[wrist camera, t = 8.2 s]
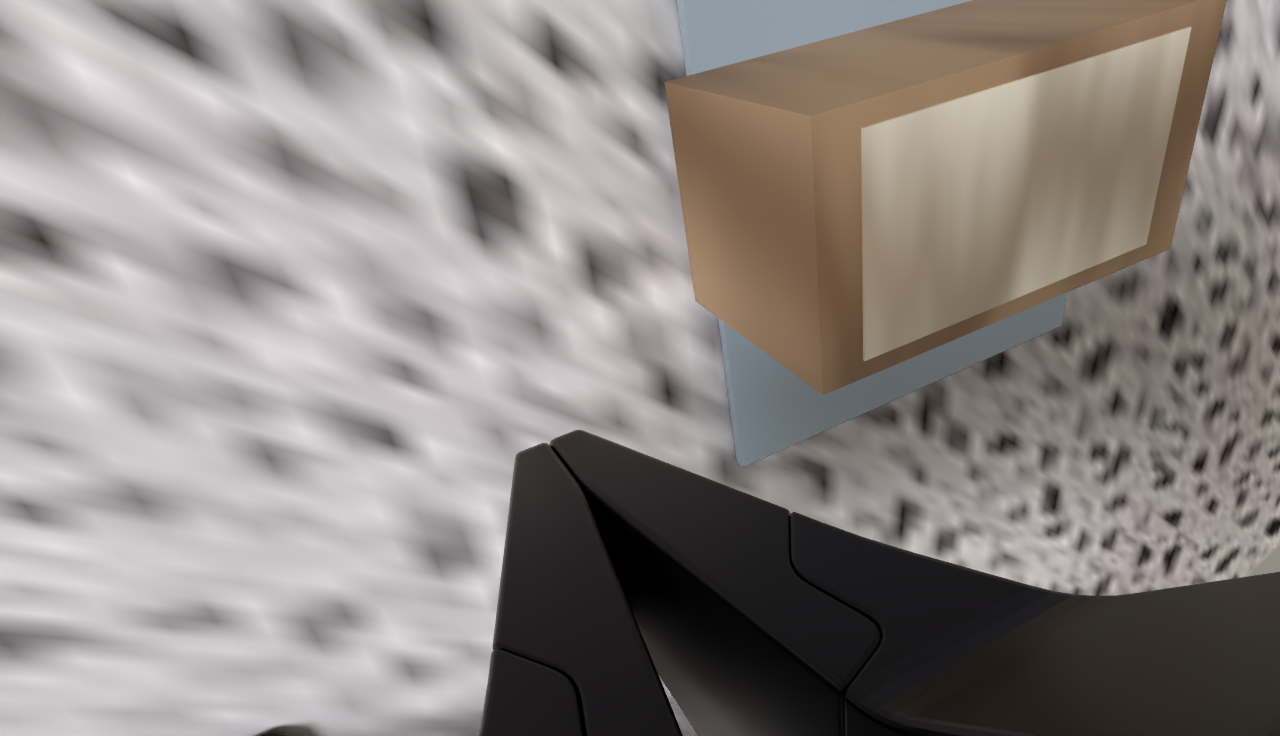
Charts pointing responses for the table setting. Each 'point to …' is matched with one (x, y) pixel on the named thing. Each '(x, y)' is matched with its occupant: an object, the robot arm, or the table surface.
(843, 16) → the pad
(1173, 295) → the table surface
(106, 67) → the table surface
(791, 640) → the robot arm
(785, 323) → the brown rectangular block
